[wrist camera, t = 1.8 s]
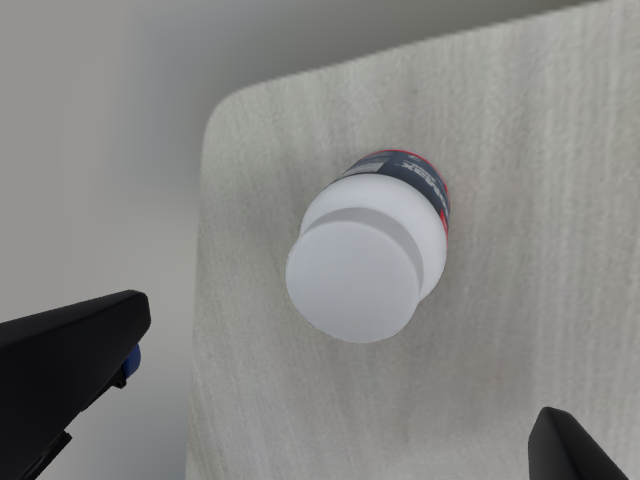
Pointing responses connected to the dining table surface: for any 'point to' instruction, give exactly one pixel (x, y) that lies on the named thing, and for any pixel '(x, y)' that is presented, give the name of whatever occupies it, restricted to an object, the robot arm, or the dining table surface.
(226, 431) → the dining table surface
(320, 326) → the pill bottle
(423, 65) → the dining table surface
